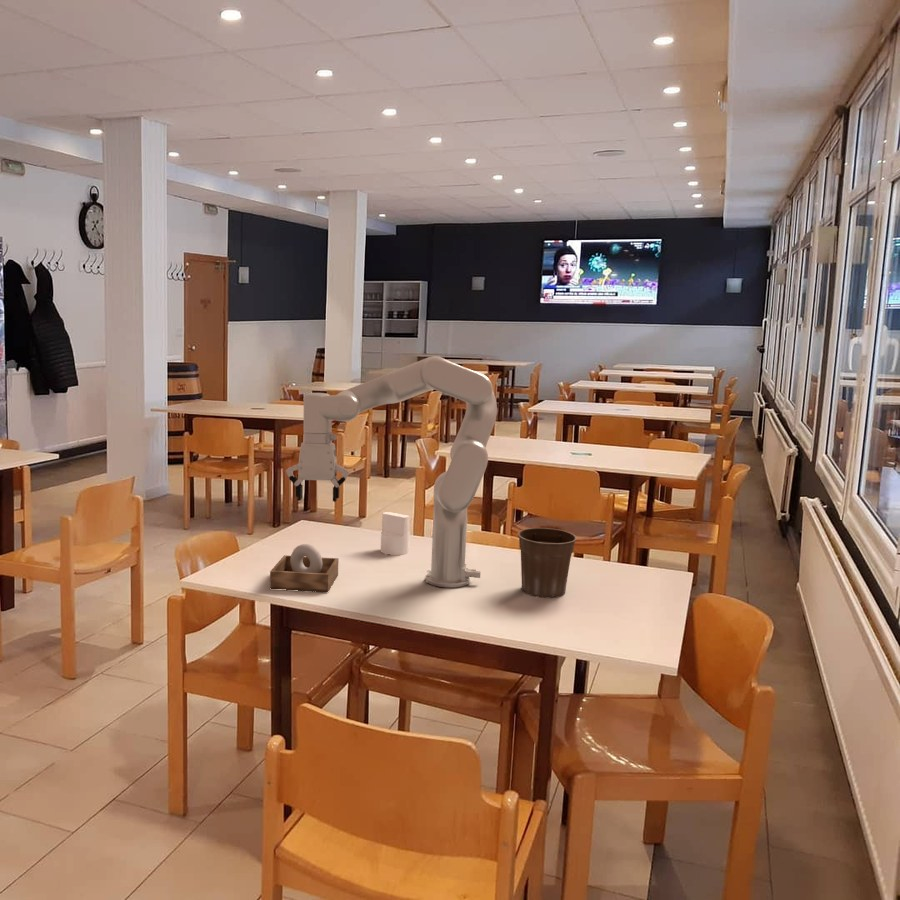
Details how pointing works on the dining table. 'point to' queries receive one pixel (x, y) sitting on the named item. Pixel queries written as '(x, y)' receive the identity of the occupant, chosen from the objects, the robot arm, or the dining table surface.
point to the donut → (312, 556)
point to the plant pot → (545, 560)
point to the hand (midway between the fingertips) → (317, 500)
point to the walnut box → (304, 576)
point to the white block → (395, 533)
